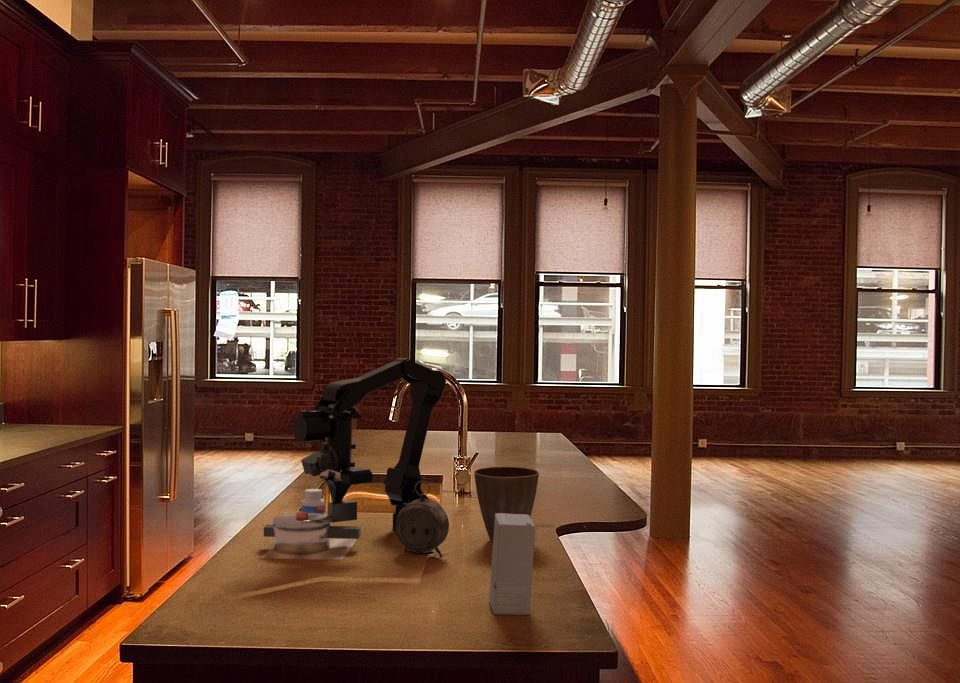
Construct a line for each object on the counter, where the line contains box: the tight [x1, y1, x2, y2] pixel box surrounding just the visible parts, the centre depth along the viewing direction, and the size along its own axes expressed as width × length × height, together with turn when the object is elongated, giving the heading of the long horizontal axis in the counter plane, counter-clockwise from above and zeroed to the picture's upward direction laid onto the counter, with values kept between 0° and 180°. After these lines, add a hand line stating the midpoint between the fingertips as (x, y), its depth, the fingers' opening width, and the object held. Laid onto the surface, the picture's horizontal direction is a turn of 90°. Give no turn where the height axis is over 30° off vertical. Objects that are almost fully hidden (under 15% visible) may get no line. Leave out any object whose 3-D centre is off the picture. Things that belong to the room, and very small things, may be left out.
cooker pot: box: [263, 524, 362, 555], centre depth 192 cm, size 20×12×5 cm, turn 88°
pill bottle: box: [300, 488, 325, 515], centre depth 212 cm, size 6×5×10 cm
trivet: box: [260, 538, 358, 561], centre depth 192 cm, size 17×18×1 cm
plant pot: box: [473, 466, 540, 543], centre depth 204 cm, size 15×15×16 cm
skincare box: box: [488, 513, 536, 616], centre depth 154 cm, size 8×7×16 cm
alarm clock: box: [395, 480, 450, 558], centre depth 189 cm, size 11×5×16 cm, turn 73°
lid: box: [272, 499, 358, 530], centre depth 193 cm, size 19×12×4 cm, turn 124°
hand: (336, 508), depth 198 cm, fingers closed
